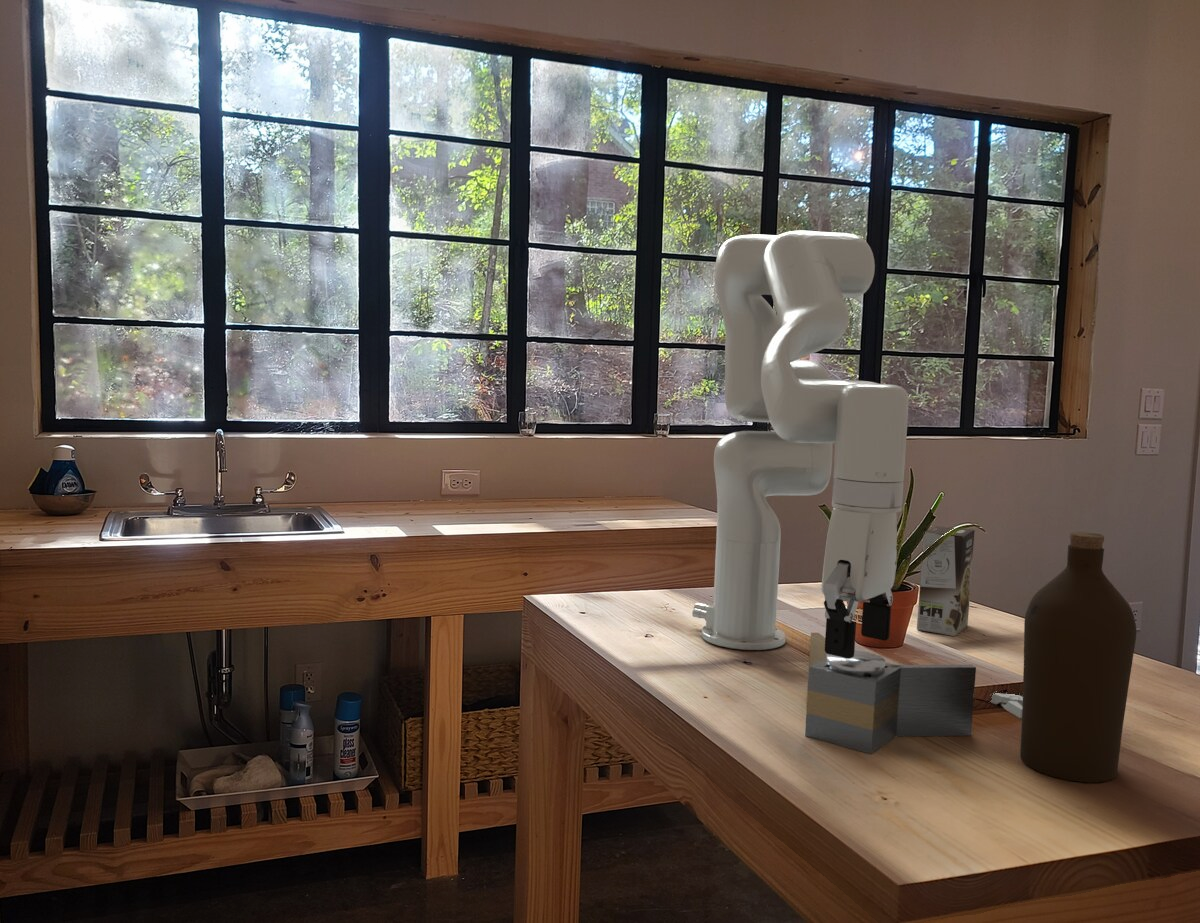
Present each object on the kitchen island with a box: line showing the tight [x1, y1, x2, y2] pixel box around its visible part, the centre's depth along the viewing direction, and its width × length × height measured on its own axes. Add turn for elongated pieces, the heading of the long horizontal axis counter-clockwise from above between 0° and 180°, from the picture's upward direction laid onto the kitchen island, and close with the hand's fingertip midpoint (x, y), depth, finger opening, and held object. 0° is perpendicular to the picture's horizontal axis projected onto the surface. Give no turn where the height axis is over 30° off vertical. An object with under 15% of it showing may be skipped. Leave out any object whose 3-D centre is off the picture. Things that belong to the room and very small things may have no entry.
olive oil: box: [1019, 531, 1137, 783], centre depth 105 cm, size 11×11×25 cm
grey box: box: [804, 632, 977, 755], centre depth 115 cm, size 20×14×8 cm
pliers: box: [989, 692, 1023, 720], centre depth 128 cm, size 10×2×15 cm
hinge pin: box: [826, 649, 887, 677], centre depth 112 cm, size 6×6×8 cm
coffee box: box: [916, 526, 976, 637], centre depth 162 cm, size 9×6×16 cm
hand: (857, 646), depth 112 cm, fingers open, 9 cm apart
